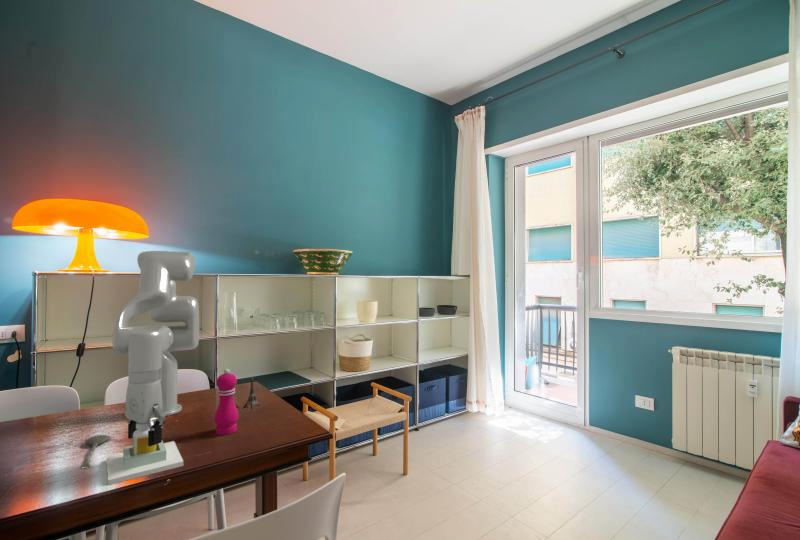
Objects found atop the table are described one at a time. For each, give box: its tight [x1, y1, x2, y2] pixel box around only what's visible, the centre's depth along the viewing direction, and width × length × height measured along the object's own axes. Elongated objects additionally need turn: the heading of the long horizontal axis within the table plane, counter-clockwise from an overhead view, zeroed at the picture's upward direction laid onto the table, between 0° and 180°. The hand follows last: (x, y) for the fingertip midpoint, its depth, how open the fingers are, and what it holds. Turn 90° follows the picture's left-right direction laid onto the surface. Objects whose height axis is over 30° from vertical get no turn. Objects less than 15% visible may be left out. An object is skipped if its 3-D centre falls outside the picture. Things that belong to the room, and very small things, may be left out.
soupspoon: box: [80, 434, 112, 469], centre depth 113 cm, size 22×3×7 cm
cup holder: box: [106, 440, 184, 486], centre depth 106 cm, size 16×16×4 cm
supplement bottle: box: [132, 421, 156, 456], centre depth 107 cm, size 5×5×10 cm
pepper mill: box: [213, 368, 239, 436], centre depth 128 cm, size 7×7×20 cm
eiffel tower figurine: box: [241, 376, 262, 410], centre depth 151 cm, size 15×10×13 cm
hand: (144, 440), depth 106 cm, fingers open, 9 cm apart
